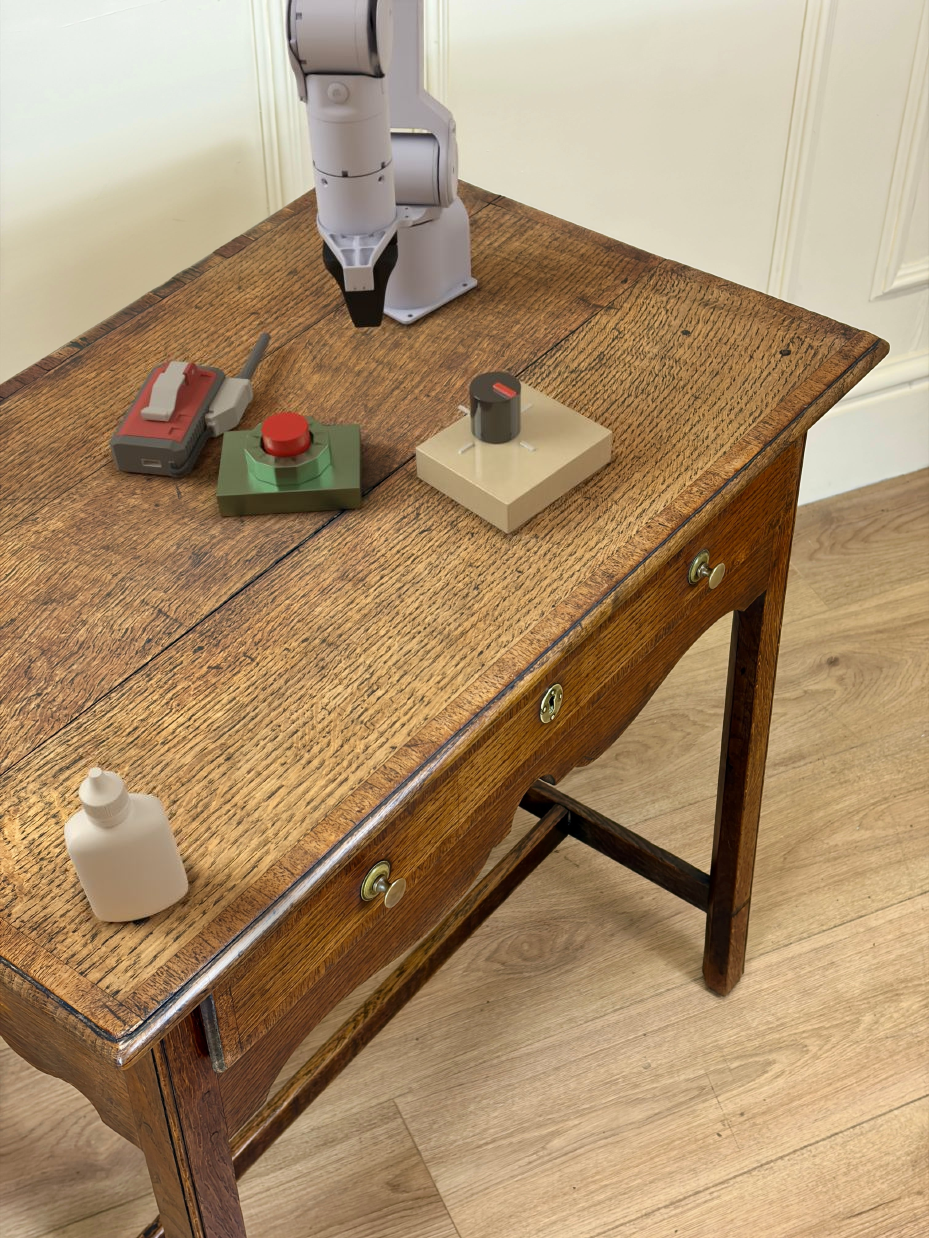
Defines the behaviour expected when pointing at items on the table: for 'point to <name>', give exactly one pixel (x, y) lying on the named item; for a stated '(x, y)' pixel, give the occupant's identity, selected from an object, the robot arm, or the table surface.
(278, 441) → the button
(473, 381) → the dial
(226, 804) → the table surface
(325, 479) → the housing
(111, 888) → the eye dropper bottle
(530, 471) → the panel
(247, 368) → the walkie-talkie
